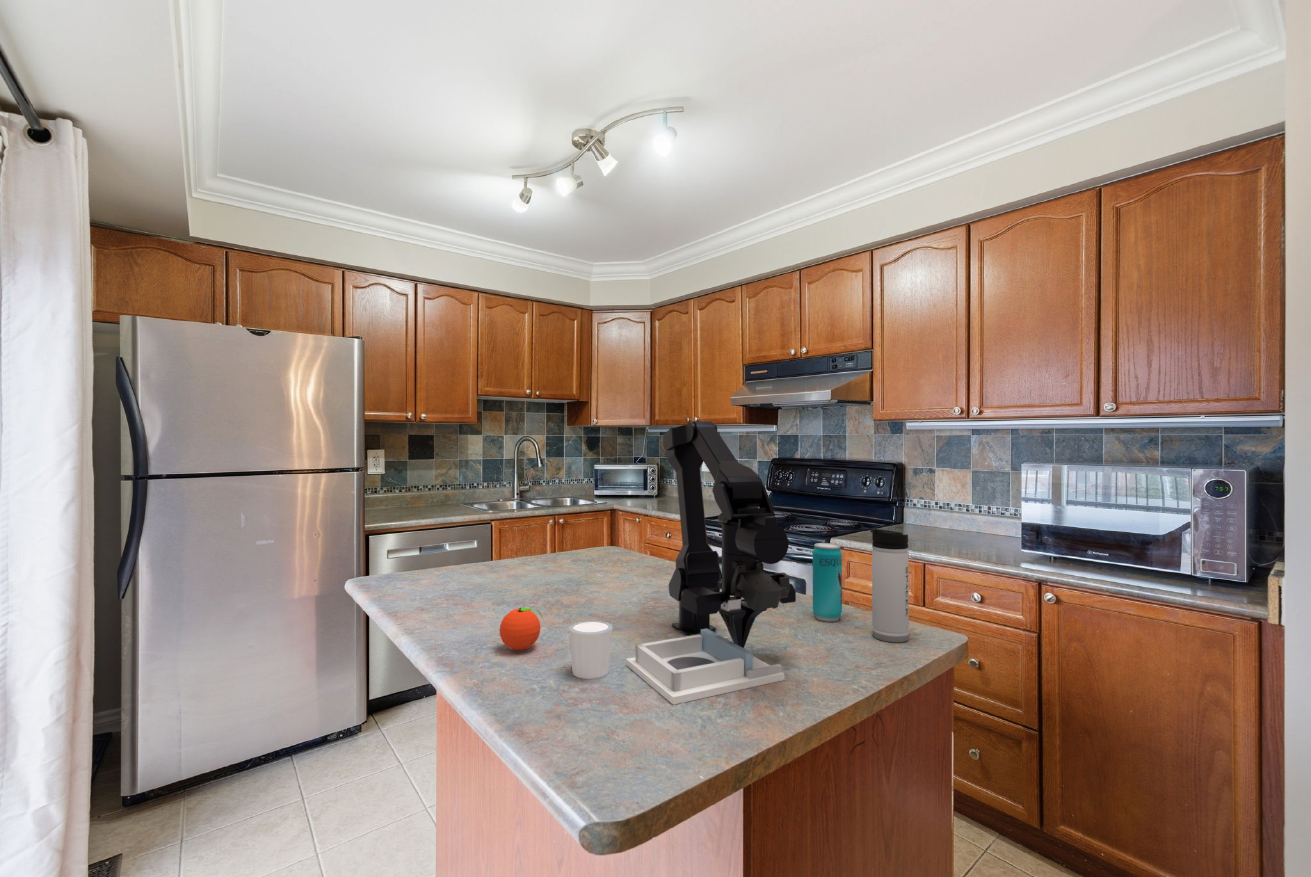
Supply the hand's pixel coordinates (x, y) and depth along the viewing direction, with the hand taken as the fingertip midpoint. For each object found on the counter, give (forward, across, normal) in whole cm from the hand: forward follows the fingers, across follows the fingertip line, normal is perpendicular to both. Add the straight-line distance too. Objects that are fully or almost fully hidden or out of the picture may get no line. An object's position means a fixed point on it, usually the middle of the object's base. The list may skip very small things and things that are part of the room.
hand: (739, 649), depth 93 cm
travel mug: (+3, +33, -1) cm, 33 cm away
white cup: (+3, -22, +8) cm, 24 cm away
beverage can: (+3, +30, +13) cm, 33 cm away
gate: (+1, -3, 0) cm, 3 cm away
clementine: (+3, -30, +23) cm, 37 cm away
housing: (+2, -7, 0) cm, 7 cm away
